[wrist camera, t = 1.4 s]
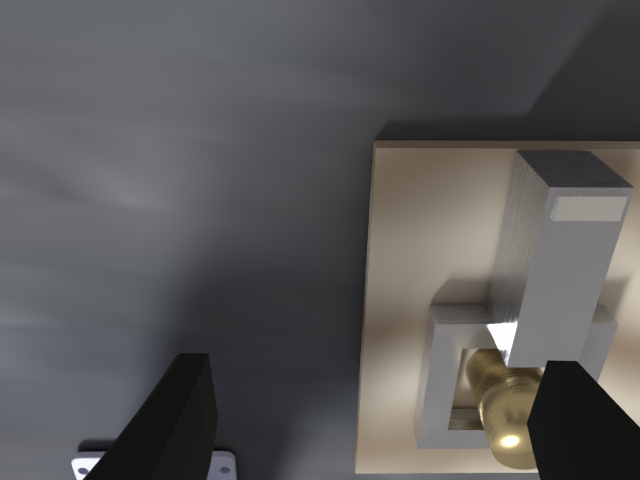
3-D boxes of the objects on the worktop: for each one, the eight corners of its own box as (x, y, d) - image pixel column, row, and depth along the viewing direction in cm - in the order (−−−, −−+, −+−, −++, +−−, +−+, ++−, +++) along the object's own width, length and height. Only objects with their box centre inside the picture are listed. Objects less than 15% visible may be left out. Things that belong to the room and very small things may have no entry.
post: (527, 392, 24) (562, 469, 21) (460, 392, 24) (485, 469, 21) (541, 340, 23) (582, 414, 19) (470, 340, 23) (498, 414, 19)
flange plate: (563, 427, 25) (594, 488, 23) (413, 427, 25) (425, 489, 22) (655, 151, 19) (715, 190, 16) (450, 150, 18) (474, 190, 16)
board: (665, 458, 28) (674, 471, 27) (354, 459, 28) (355, 473, 27) (819, 142, 20) (838, 150, 19) (373, 140, 19) (376, 147, 19)
